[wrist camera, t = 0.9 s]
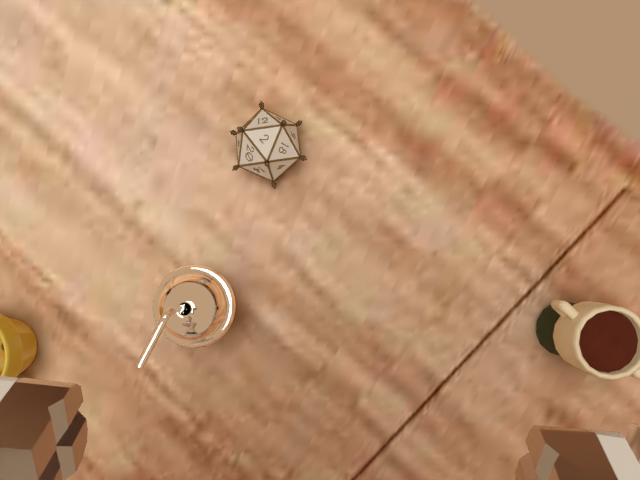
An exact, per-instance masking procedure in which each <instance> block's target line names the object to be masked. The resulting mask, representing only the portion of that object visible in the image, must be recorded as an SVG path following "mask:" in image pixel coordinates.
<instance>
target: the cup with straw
mask: <svg viewBox="0 0 640 480" xmlns="http://www.w3.org/2000/svg"><path fill="white" fill-rule="evenodd" d="M235 306H236V303H235V296H234V293H233V290H232V288H231V286H230V284H229V283H228V281H227V280H226V279H225V278H224V277H223V276H222V275H221V274H220V273H218V272H217V271H216V270H214V269H212V268H209V267H206V266H202V265H188V266H183V267H180V268H178V269H176V270H174V271H173V272H171V273H170V274H168V275H167V276H166V277H165V278H164V279H163V281H162V282H161V283H160V285H159V286H158V288H157V290H156V293H155V296H154V300H153V313H154V318H155V321H156V324H157V325H156V327H155V329H154V331H153V333H152V335H151V337H150V339H149V341H148V343H147V345H146V346H145V348H144V350H143V352H142V354H141V356H140V358H139V360H138V362H137V364H136V367H139V368H141V369H143V368H144V366H145V364H146V362H147V360H148V358H149V356H150V354H151V352H152V351H153V349H154V347H155V345H156V343H157V341H158V339H159V337H160V335H161V333H163V334H164V335H165V336H166V337H167V338H168V339H169V340H171V341H172V342H174V343H176V344H178V345H181V346H185V347H190V348H198V347H205V346H207V345H210V344H213V343H214V342H216V341H217V340H219V339H220V338H221V337H222V336H223V335H224V334H225V333H226V332H227V331H228V329H229V328H230V326H231V324H232V322H233V319H234V315H235Z"/></svg>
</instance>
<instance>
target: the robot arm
mask: <svg viewBox="0 0 640 480" xmlns="http://www.w3.org/2000/svg"><path fill="white" fill-rule="evenodd" d="M82 402H83V395H82V390H81V386H79V385H77V384H74V383H65V382H57V381H48V380H40V379H31V378H17V377H8V376H0V480H65V479H67V478H68V477H70V476H71V475H72V474H74V473H75V472H76V471H77V469H78V467H79V464H80V462H81V460H82V458H83V454H84V451H85V447H86V443H87V430H88V429H87V421H86V418H85V417H84V416H83V415H82V414H81V413H80V412H79V411H78V409H79V408H80V406H81V404H82ZM526 444H527V447H528V450H529V453H527V454H526V455H524V456H523V457H522V458H520V459H519V463H518V467H517V470H516V479H515V480H640V464H639V462H638V461H637V459H636V457H635V455H634V453H633V451H632V450H631V448H630V446H629V444H628V442H627V441H626V439H625V437H624V436H623V435H622V434H620V433H619V432H610V431H598V430H589V431H588V430H582V429H570V428H558V427H546V426H533V427H532V428H531V429H530V430H529V433H528V436H527V438H526Z"/></svg>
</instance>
